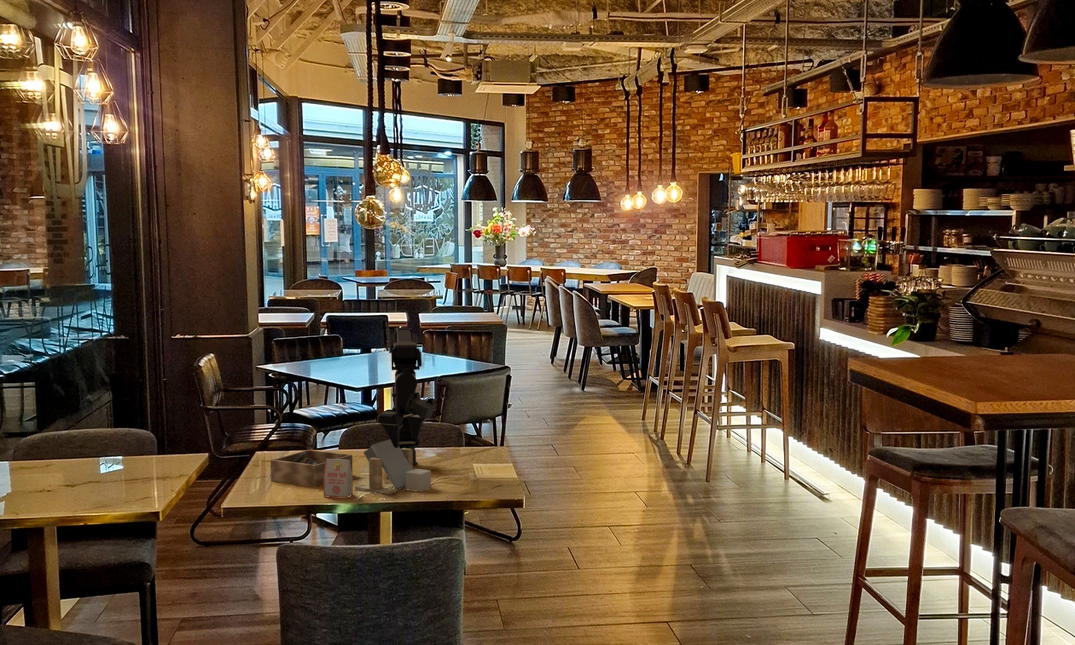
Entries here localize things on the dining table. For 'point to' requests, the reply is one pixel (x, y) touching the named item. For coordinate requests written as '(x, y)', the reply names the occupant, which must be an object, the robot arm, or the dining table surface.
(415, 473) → the pale grey cube
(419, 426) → the robot arm
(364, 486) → the stand
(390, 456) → the dark grey slab
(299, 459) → the chocolate cake
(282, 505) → the dining table surface
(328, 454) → the open wooden box
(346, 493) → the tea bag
